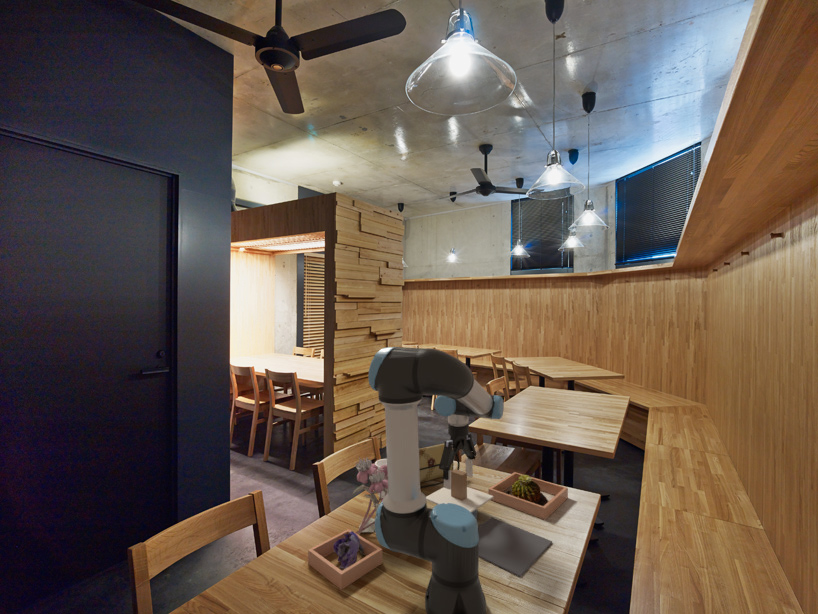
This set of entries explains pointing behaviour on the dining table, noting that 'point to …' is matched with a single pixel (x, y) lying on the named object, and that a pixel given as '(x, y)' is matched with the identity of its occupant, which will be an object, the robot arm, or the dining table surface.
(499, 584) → the dining table surface
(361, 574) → the flower tray
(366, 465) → the flower
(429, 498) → the board
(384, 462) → the foam cup
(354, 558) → the flower
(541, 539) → the rubber mat
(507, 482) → the cactus tray
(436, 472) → the clutch purse
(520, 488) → the cactus
